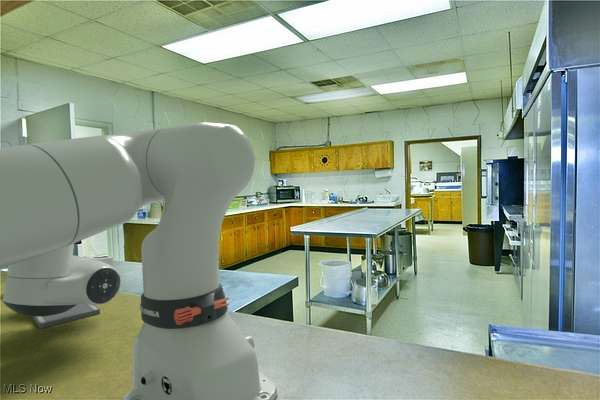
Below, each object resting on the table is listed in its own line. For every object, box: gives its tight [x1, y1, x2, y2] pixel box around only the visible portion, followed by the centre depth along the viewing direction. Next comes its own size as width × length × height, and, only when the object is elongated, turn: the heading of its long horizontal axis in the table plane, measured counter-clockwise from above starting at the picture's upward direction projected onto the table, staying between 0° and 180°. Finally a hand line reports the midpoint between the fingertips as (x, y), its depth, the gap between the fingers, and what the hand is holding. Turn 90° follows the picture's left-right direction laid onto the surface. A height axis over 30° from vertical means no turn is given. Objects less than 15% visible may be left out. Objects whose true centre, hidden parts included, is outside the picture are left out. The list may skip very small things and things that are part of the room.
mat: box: [31, 304, 101, 329], centre depth 88 cm, size 22×12×1 cm, turn 46°
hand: (52, 269), depth 85 cm, fingers closed
